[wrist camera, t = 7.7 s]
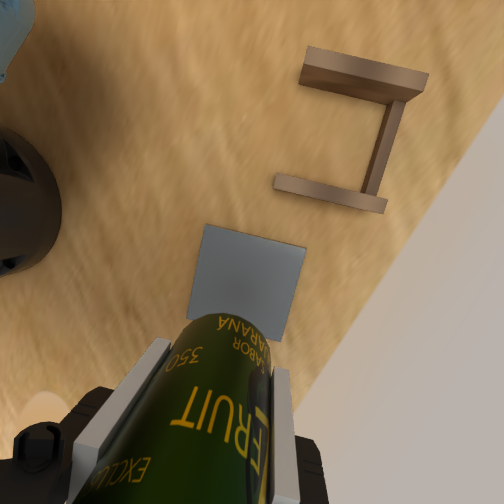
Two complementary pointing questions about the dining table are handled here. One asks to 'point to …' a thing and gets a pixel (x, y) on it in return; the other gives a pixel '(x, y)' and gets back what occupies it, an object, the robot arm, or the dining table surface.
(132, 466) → the beer can
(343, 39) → the dining table surface
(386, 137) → the rack
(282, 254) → the coaster
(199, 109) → the dining table surface
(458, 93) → the dining table surface
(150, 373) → the robot arm
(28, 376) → the dining table surface
